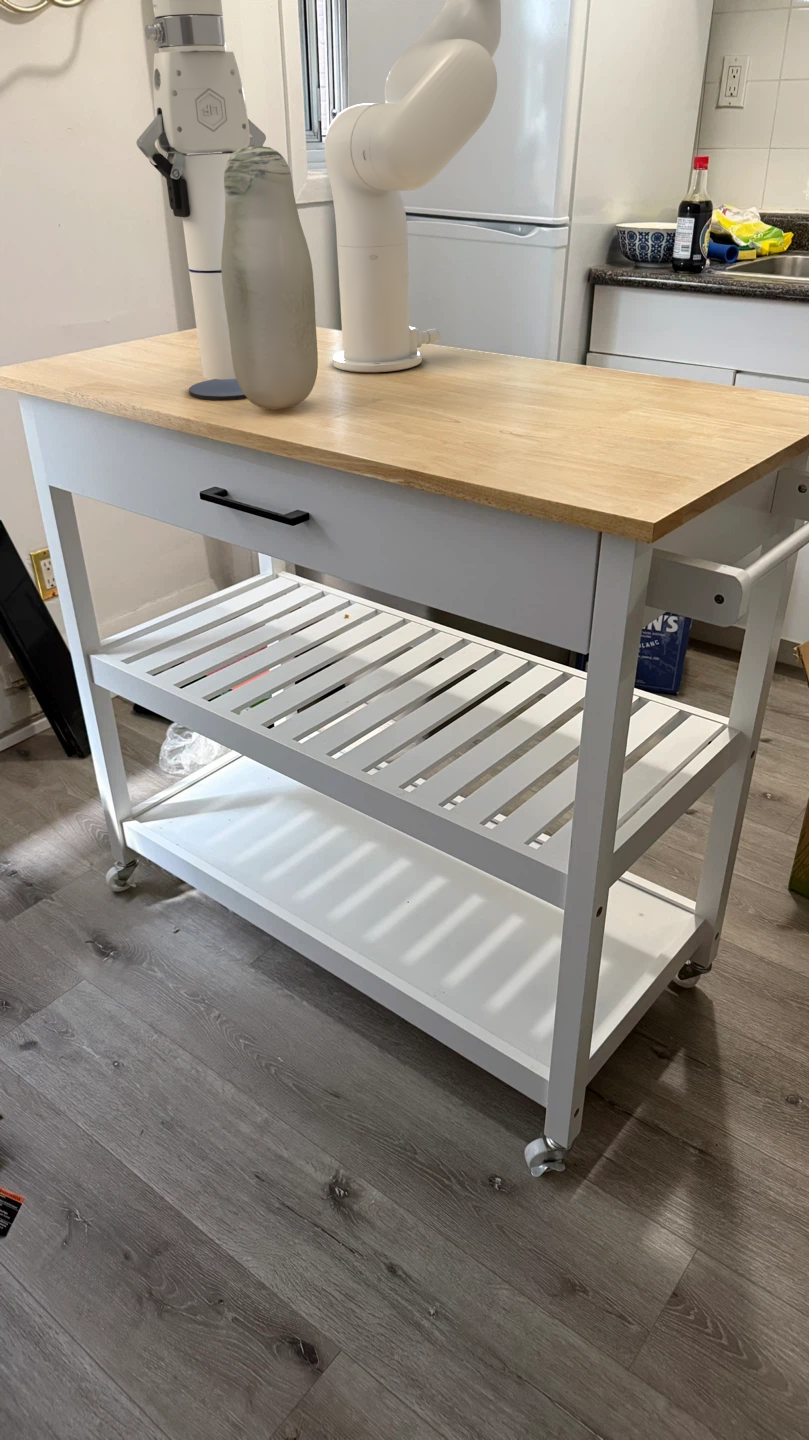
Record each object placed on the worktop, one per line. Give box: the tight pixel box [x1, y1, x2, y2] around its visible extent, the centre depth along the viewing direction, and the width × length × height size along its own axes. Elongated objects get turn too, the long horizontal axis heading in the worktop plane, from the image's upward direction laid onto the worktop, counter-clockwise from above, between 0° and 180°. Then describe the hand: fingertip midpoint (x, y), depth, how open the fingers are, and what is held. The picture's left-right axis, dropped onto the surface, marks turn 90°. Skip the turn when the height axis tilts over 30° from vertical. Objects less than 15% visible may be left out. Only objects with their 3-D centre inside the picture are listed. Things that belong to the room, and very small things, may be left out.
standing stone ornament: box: [221, 145, 319, 411], centre depth 119 cm, size 10×10×28 cm
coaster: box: [188, 379, 248, 401], centre depth 134 cm, size 11×11×1 cm
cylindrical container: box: [181, 152, 236, 380], centre depth 127 cm, size 7×7×25 cm
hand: (211, 212), depth 124 cm, fingers closed on cylindrical container, 7 cm apart
